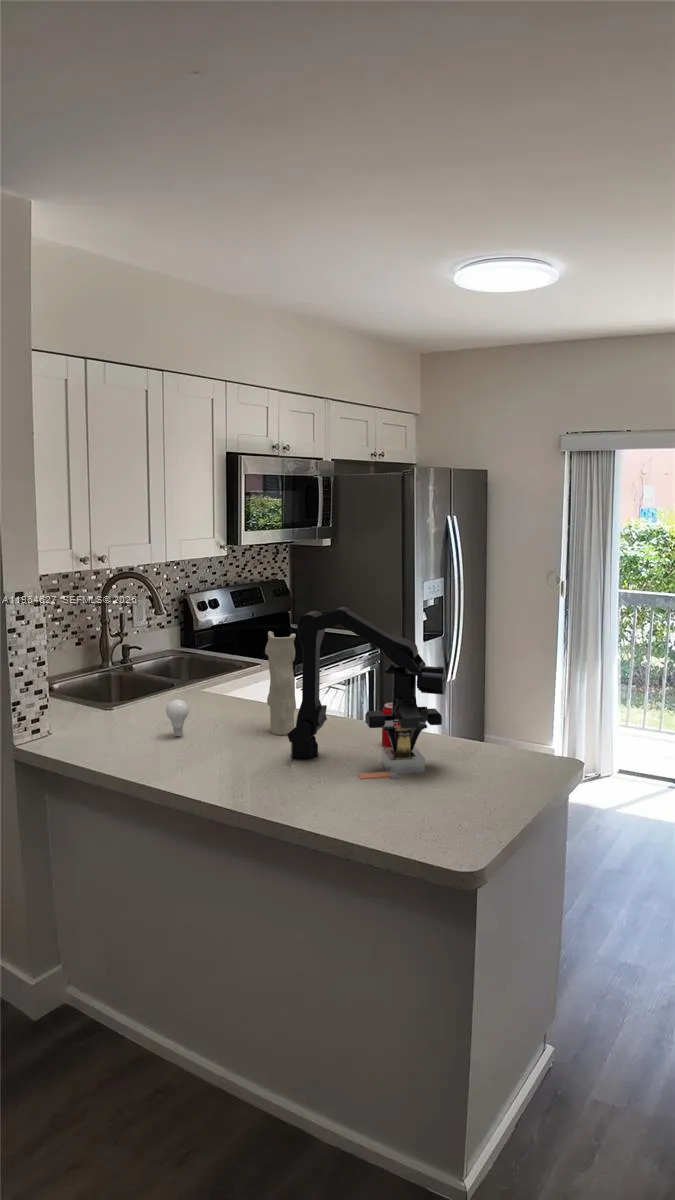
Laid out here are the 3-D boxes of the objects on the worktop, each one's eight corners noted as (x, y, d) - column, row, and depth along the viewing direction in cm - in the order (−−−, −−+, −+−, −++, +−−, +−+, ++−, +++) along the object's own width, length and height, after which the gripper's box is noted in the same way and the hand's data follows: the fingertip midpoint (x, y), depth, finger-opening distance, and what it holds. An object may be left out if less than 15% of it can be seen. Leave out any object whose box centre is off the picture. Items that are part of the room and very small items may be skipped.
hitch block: (389, 777, 206) (389, 760, 206) (381, 764, 215) (381, 748, 214) (424, 775, 208) (424, 758, 207) (415, 763, 217) (415, 746, 216)
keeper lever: (393, 774, 208) (393, 769, 208) (396, 780, 204) (396, 774, 204) (357, 777, 206) (357, 772, 206) (360, 783, 203) (360, 777, 203)
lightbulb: (162, 738, 236) (161, 701, 235) (174, 732, 242) (173, 695, 241) (181, 741, 234) (180, 703, 232) (193, 734, 240) (192, 697, 238)
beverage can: (402, 751, 227) (403, 708, 225) (380, 749, 228) (380, 707, 226) (405, 744, 233) (406, 702, 231) (383, 742, 234) (384, 701, 232)
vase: (262, 733, 241) (261, 632, 237) (277, 725, 249) (277, 627, 244) (287, 738, 237) (286, 635, 233) (302, 730, 245) (302, 630, 240)
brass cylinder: (396, 759, 209) (397, 733, 207) (393, 754, 213) (393, 728, 211) (412, 759, 209) (413, 732, 208) (408, 753, 213) (409, 727, 212)
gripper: (374, 701, 199) (373, 763, 201) (449, 698, 202) (447, 759, 204) (365, 689, 210) (364, 748, 212) (436, 686, 213) (434, 744, 215)
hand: (402, 750), depth 211 cm, fingers closed on brass cylinder, 4 cm apart
